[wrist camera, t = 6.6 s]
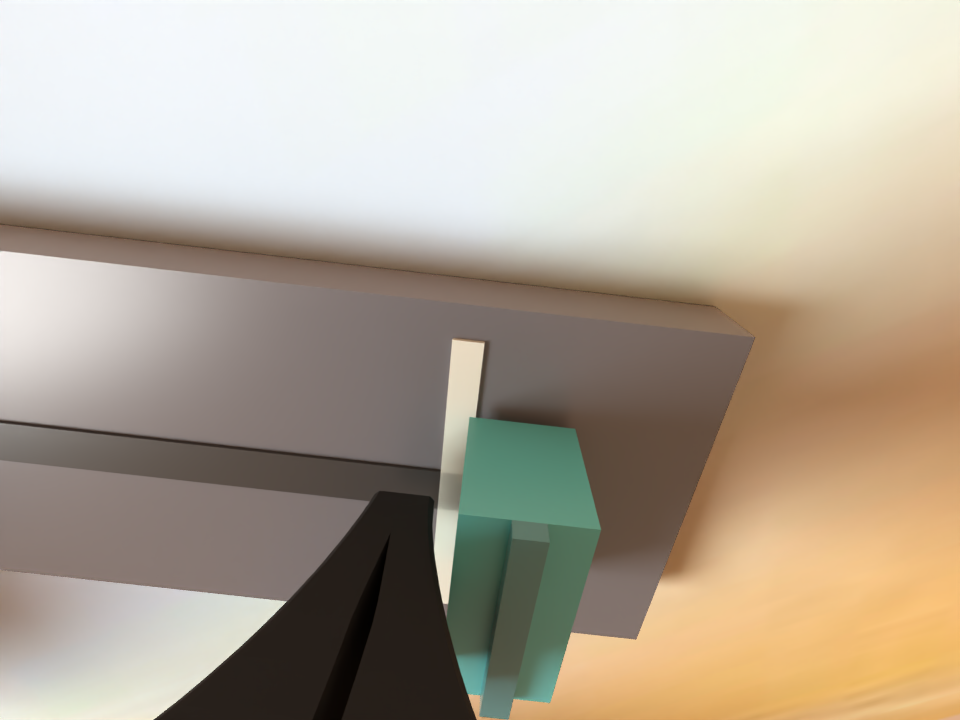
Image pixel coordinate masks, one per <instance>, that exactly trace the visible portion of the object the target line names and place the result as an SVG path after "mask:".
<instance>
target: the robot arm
mask: <svg viewBox="0 0 960 720" xmlns="http://www.w3.org/2000/svg"><path fill="white" fill-rule="evenodd" d="M433 513H434V500H433V499H432V498H431V497H430V496H424V495H415V494H406V493H397V492H388V491H378V492H377V493H375V494H374V496H373V497H372V499H371V500H370V502H369V503H368V505H367V506H366V508H365V509H364V511H363V512H362V513H361V515H360V516H359V518H358V519H357V520H356V522H355V523H354V524H353V526H352V527H351V528H350V529H349V531H348V532H347V533H346V535H345V536H344V537H343V538H342V540H341V541H340V542H339V543H338V544H337V546H336V547H335V548H334V549H333V551H332V552H331V553H330V554H329V555H328V557H327V558H326V559H325V560H324V561H323V563H322V564H321V565H320V566H319V567H318V568H317V570H316V571H315V572H314V573H313V574H312V575H311V576H310V577H309V578H308V579H307V580H306V582H305V583H304V584H303V585H302V586H301V587H300V588H299V589H298V590H297V591H296V592H295V594H294V595H293V596H292V597H291V598H290V599H289V600H288V601H287V602H286V603H285V604H284V605H283V606H282V607H281V608H280V609H279V610H278V611H277V612H276V613H275V614H274V615H273V616H272V617H271V618H270V619H269V620H268V621H267V622H266V623H265V624H264V625H263V626H262V627H261V628H260V629H259V630H258V631H257V632H256V633H255V634H254V635H253V636H252V637H251V638H249V639H248V640H247V641H246V642H245V643H244V644H243V645H242V646H241V647H240V648H239V649H238V650H236V651H235V652H234V653H233V654H232V655H231V656H230V657H229V658H227V659H226V660H225V661H224V662H223V663H222V664H221V665H219V666H218V667H217V668H216V669H215V670H214V671H213V672H212V673H210V674H209V675H208V676H207V677H206V678H205V679H204V680H202V681H201V682H200V683H199V684H198V685H196V686H195V687H194V688H193V689H192V690H191V691H189V692H188V693H187V694H186V695H184V696H183V697H182V698H181V699H180V700H178V701H177V702H176V703H175V704H173V705H172V706H171V707H169V708H168V709H167V710H166V711H164V712H163V713H162V714H160V715H159V716H158V717H157V718H155V719H154V720H476V717H475V714H474V711H473V709H472V706H471V703H470V700H469V697H468V694H467V690H466V687H465V684H464V681H463V678H462V675H461V672H460V668H459V665H458V661H457V658H456V654H455V651H454V647H453V643H452V640H451V636H450V632H449V628H448V624H447V620H446V615H445V611H444V606H443V602H442V597H441V592H440V586H439V580H438V574H437V568H436V561H435V554H434V544H433V527H432V525H433Z"/></svg>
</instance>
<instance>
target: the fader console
mask: <svg viewBox="0 0 960 720" xmlns="http://www.w3.org/2000/svg"><path fill="white" fill-rule="evenodd" d="M754 339H755V337H754V336H753V335H751V334H750V333H749V332H748V331H746V330H745V329H744V328H742V327H741V326H740V325H738V324H737V323H736V322H735V321H733V320H732V319H731V318H729V317H728V316H727V315H725V314H724V313H723V312H722V311H720V310H719V309H718V308H716V307H714V306H705V305H696V304H687V303H679V302H670V301H661V300H653V299H644V298H635V297H627V296H618V295H609V294H601V293H592V292H583V291H575V290H566V289H557V288H548V287H540V286H531V285H522V284H514V283H505V282H496V281H488V280H479V279H470V278H462V277H453V276H444V275H436V274H427V273H418V272H410V271H401V270H392V269H383V268H375V267H366V266H357V265H349V264H340V263H331V262H323V261H314V260H305V259H297V258H288V257H279V256H271V255H262V254H253V253H244V252H236V251H227V250H218V249H210V248H201V247H192V246H184V245H175V244H166V243H158V242H149V241H140V240H132V239H123V238H114V237H105V236H97V235H88V234H79V233H71V232H62V231H53V230H45V229H36V228H27V227H19V226H10V225H1V224H0V570H7V571H16V572H25V573H34V574H43V575H53V576H62V577H71V578H80V579H89V580H98V581H107V582H116V583H126V584H135V585H144V586H153V587H162V588H171V589H180V590H189V591H199V592H208V593H217V594H226V595H235V596H244V597H253V598H263V599H272V600H281V601H288V600H289V599H290V598H291V597H292V596H293V595H294V594H295V592H296V591H297V590H298V589H299V588H300V587H301V586H302V585H303V584H304V583H305V582H306V580H307V579H308V578H309V577H310V576H311V575H312V574H313V573H314V572H315V571H316V570H317V568H318V567H319V566H320V565H321V564H322V563H323V561H324V560H325V559H326V558H327V557H328V555H329V554H330V553H331V552H332V551H333V549H334V548H335V547H336V546H337V544H338V543H339V542H340V541H341V540H342V538H343V537H344V536H345V535H346V533H347V532H348V531H349V529H350V528H351V527H352V526H353V524H354V523H355V522H356V520H357V519H358V518H359V516H360V515H361V513H362V512H363V511H364V509H365V508H366V506H367V505H368V503H369V502H370V500H371V499H372V497H373V496H374V494H375V493H377V492H378V491H388V492H397V493H406V494H415V495H424V496H430V497H431V498H432V499H433V500H434V513H433V525H432V527H433V544H434V554H435V561H436V568H437V574H438V580H439V586H440V592H441V597H442V602H443V606H444V611H445V615H446V618H447V609H448V600H449V592H450V583H451V574H452V565H453V556H454V547H455V538H456V530H457V521H458V512H459V503H460V495H461V486H462V477H463V469H464V460H465V452H466V443H467V434H468V426H469V417H475V418H484V419H493V420H502V421H511V422H519V423H528V424H537V425H546V426H555V427H564V428H573V429H575V430H576V434H577V438H578V442H579V446H580V449H581V453H582V457H583V461H584V465H585V469H586V473H587V477H588V481H589V484H590V488H591V492H592V496H593V500H594V504H595V508H596V512H597V516H598V519H599V523H600V527H601V532H600V535H599V539H598V542H597V546H596V549H595V552H594V556H593V559H592V563H591V566H590V569H589V573H588V576H587V580H586V583H585V586H584V590H583V593H582V596H581V600H580V603H579V607H578V610H577V613H576V617H575V620H574V624H573V627H572V630H571V632H573V633H582V634H591V635H600V636H609V637H618V638H628V639H637V636H638V634H639V631H640V628H641V626H642V623H643V621H644V618H645V616H646V613H647V611H648V608H649V606H650V603H651V601H652V598H653V595H654V593H655V590H656V588H657V585H658V583H659V580H660V578H661V575H662V573H663V570H664V568H665V565H666V562H667V560H668V557H669V555H670V552H671V550H672V547H673V545H674V542H675V540H676V537H677V535H678V532H679V529H680V527H681V524H682V522H683V519H684V517H685V514H686V512H687V509H688V507H689V504H690V502H691V499H692V496H693V494H694V491H695V489H696V486H697V484H698V481H699V479H700V476H701V474H702V471H703V469H704V466H705V463H706V461H707V458H708V456H709V453H710V451H711V448H712V446H713V443H714V441H715V438H716V435H717V433H718V430H719V428H720V425H721V423H722V420H723V418H724V415H725V413H726V410H727V408H728V405H729V402H730V400H731V397H732V395H733V392H734V390H735V387H736V385H737V382H738V380H739V377H740V375H741V372H742V369H743V367H744V364H745V362H746V359H747V357H748V354H749V352H750V349H751V347H752V344H753V342H754Z"/></svg>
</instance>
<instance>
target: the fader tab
mask: <svg viewBox="0 0 960 720" xmlns="http://www.w3.org/2000/svg"><path fill="white" fill-rule="evenodd" d="M600 532H601V527H600V523H599V519H598V516H597V512H596V508H595V504H594V500H593V496H592V492H591V488H590V484H589V481H588V477H587V473H586V469H585V465H584V461H583V457H582V453H581V449H580V446H579V442H578V438H577V434H576V430H575V429H573V428H564V427H555V426H546V425H537V424H528V423H519V422H511V421H502V420H493V419H484V418H475V417H469V426H468V434H467V443H466V452H465V460H464V469H463V477H462V486H461V495H460V503H459V512H458V521H457V530H456V538H455V547H454V556H453V565H452V574H451V583H450V592H449V600H448V609H447V618H446V620H447V624H448V628H449V632H450V636H451V640H452V643H453V647H454V651H455V654H456V658H457V661H458V665H459V668H460V672H461V675H462V678H463V681H464V684H465V687H466V690H467V694H473V695H480V717H490V718H499V719H509V715H510V711H511V707H512V702H513V699H519V700H528V701H538V702H547V703H550V701H551V698H552V695H553V691H554V688H555V685H556V681H557V678H558V674H559V671H560V668H561V664H562V661H563V657H564V654H565V651H566V647H567V644H568V640H569V637H570V634H571V630H572V627H573V624H574V620H575V617H576V613H577V610H578V607H579V603H580V600H581V596H582V593H583V590H584V586H585V583H586V580H587V576H588V573H589V569H590V566H591V563H592V559H593V556H594V552H595V549H596V546H597V542H598V539H599V535H600Z"/></svg>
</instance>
